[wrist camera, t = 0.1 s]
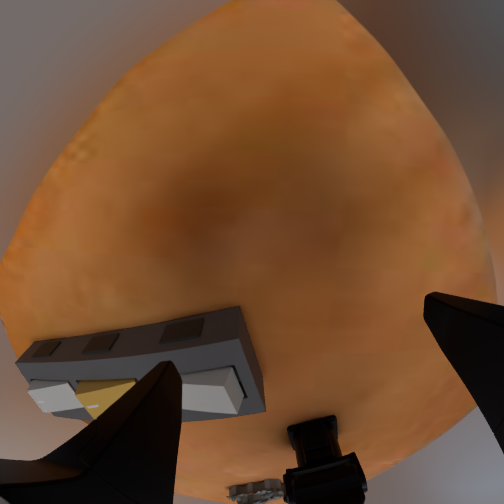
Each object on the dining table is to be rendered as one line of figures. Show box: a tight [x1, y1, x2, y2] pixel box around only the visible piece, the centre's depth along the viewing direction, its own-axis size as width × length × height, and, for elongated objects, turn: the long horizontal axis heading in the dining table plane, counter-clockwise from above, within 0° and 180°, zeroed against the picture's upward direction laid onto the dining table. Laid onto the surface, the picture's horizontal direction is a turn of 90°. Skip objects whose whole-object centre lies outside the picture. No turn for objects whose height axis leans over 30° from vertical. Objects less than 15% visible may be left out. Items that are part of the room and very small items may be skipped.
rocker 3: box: [179, 367, 244, 414], centre depth 21 cm, size 4×7×2 cm, turn 104°
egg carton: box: [226, 479, 284, 504], centre depth 35 cm, size 11×8×4 cm
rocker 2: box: [75, 378, 138, 419], centre depth 21 cm, size 4×7×2 cm, turn 104°
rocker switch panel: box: [15, 306, 266, 422], centre depth 24 cm, size 9×28×5 cm, turn 104°
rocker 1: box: [27, 379, 84, 413], centre depth 22 cm, size 4×7×2 cm, turn 104°
